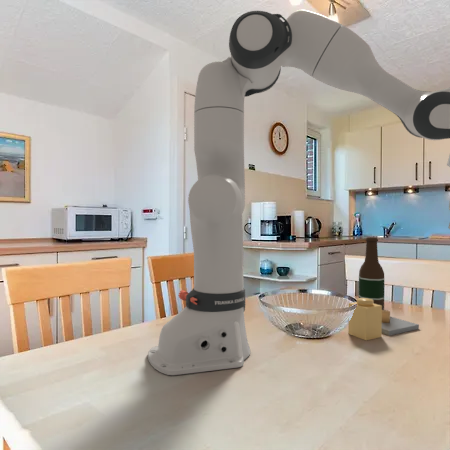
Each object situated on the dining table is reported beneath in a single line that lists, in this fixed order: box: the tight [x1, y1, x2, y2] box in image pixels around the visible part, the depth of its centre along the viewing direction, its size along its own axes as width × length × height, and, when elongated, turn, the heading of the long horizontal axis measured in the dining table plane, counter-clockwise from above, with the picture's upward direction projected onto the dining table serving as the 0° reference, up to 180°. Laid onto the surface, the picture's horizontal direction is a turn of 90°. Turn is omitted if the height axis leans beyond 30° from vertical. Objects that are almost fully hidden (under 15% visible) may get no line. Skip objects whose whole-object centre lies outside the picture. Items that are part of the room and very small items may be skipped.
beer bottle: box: [358, 236, 385, 310], centre depth 114 cm, size 8×8×24 cm
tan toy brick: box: [347, 297, 383, 341], centre depth 90 cm, size 6×6×9 cm
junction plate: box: [382, 309, 420, 336], centre depth 98 cm, size 12×12×4 cm
